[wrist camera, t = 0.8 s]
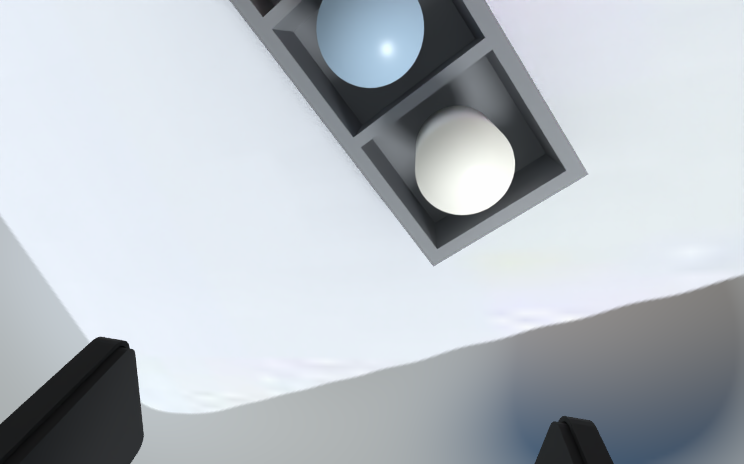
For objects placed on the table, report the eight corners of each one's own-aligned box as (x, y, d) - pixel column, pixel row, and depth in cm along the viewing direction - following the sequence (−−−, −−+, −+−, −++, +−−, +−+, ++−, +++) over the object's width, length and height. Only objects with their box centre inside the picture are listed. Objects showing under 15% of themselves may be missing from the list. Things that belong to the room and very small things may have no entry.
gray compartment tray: (313, -257, 25) (287, -332, 20) (562, 154, 33) (588, 174, 28) (179, -101, 29) (129, -132, 24) (431, 236, 37) (433, 266, 32)
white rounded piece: (469, 87, 29) (480, 97, 23) (512, 156, 30) (533, 180, 25) (400, 137, 30) (395, 158, 25) (444, 200, 32) (449, 232, 26)
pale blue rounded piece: (388, -37, 26) (380, -59, 21) (440, 43, 28) (445, 42, 22) (319, 25, 28) (294, 19, 23) (370, 97, 29) (359, 108, 24)
